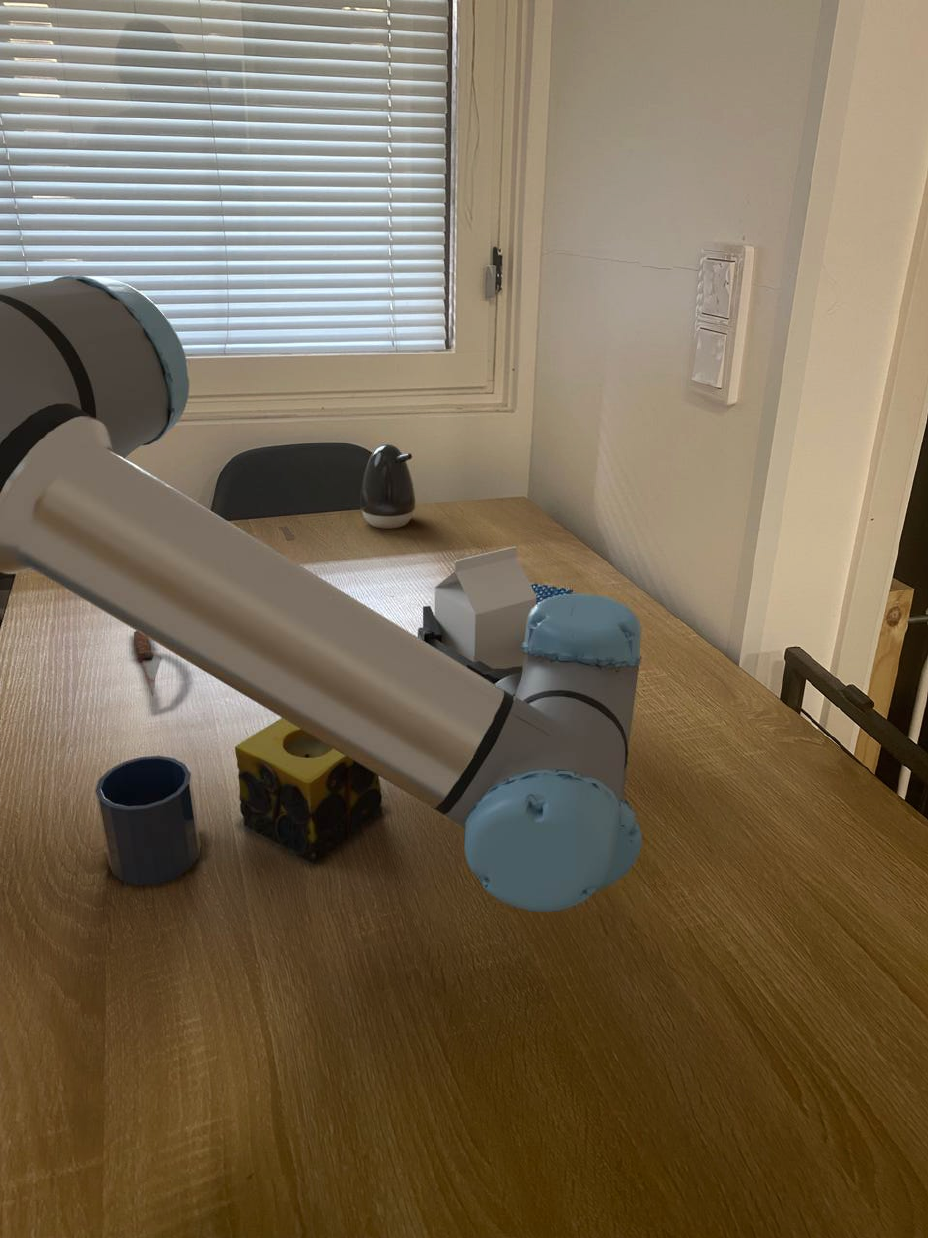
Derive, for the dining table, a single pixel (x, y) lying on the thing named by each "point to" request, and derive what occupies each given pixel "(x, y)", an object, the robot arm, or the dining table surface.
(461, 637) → the milk carton
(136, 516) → the robot arm
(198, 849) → the blue cup
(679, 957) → the dining table surface
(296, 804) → the candle
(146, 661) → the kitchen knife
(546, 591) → the woven mat
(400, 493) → the pump dispenser
